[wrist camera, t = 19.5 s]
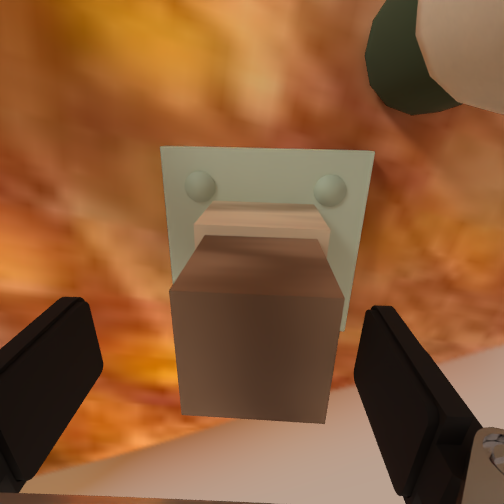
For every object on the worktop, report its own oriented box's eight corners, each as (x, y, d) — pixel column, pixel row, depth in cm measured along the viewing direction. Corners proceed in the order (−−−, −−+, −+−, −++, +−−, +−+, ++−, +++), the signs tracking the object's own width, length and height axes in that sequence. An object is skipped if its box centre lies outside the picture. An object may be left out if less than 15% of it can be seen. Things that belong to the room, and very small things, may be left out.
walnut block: (209, 327, 15) (181, 414, 10) (204, 235, 13) (169, 290, 8) (307, 332, 15) (324, 423, 10) (317, 239, 13) (344, 298, 8)
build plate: (166, 145, 18) (159, 146, 16) (368, 150, 17) (375, 151, 16) (181, 313, 22) (175, 324, 21) (340, 321, 22) (344, 332, 20)
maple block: (213, 200, 17) (193, 224, 13) (314, 204, 17) (330, 230, 13) (215, 288, 20) (199, 335, 15) (304, 292, 19) (315, 341, 15)
